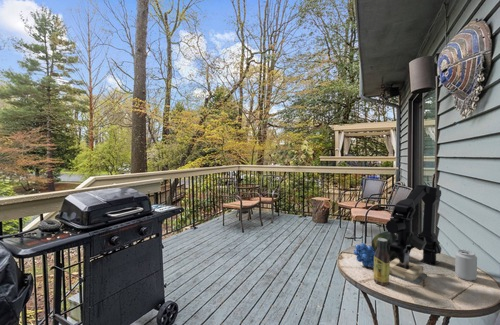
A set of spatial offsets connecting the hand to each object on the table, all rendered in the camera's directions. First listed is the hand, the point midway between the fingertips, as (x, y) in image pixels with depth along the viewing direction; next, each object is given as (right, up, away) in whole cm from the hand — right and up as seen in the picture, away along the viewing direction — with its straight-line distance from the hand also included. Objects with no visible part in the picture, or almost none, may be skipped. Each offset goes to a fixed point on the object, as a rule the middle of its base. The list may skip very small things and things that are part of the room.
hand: (404, 261), depth 118 cm
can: (+26, -6, -4) cm, 27 cm away
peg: (0, -4, 0) cm, 4 cm away
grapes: (-15, -6, +8) cm, 18 cm away
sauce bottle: (-14, -7, -7) cm, 17 cm away
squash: (+4, -5, +22) cm, 23 cm away
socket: (0, -6, 0) cm, 6 cm away
